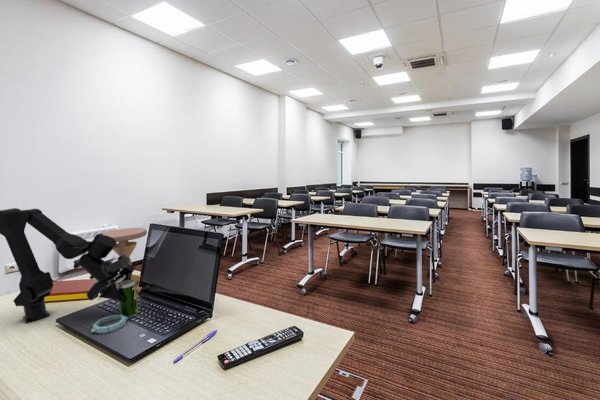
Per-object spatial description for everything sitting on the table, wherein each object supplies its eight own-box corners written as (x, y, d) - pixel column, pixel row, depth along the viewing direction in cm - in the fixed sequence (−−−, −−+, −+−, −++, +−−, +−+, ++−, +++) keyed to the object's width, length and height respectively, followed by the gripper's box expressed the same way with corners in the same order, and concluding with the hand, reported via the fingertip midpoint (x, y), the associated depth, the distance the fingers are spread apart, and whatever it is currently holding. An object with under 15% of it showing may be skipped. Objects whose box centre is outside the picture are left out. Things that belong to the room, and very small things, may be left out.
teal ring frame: (87, 328, 96) (87, 323, 96) (122, 315, 104) (121, 311, 104) (96, 338, 91) (96, 332, 90) (132, 324, 98) (132, 318, 98)
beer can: (121, 320, 101) (117, 286, 99) (120, 314, 105) (116, 281, 104) (139, 315, 104) (135, 282, 102) (137, 309, 108) (134, 278, 107)
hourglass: (114, 284, 134) (107, 229, 131) (156, 279, 138) (150, 226, 135) (97, 301, 117) (89, 239, 114) (146, 294, 121) (139, 234, 118)
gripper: (90, 259, 93) (129, 292, 94) (127, 243, 111) (159, 271, 112) (69, 284, 94) (108, 316, 95) (109, 264, 113) (141, 291, 113)
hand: (131, 297), depth 104 cm, fingers open, 6 cm apart
